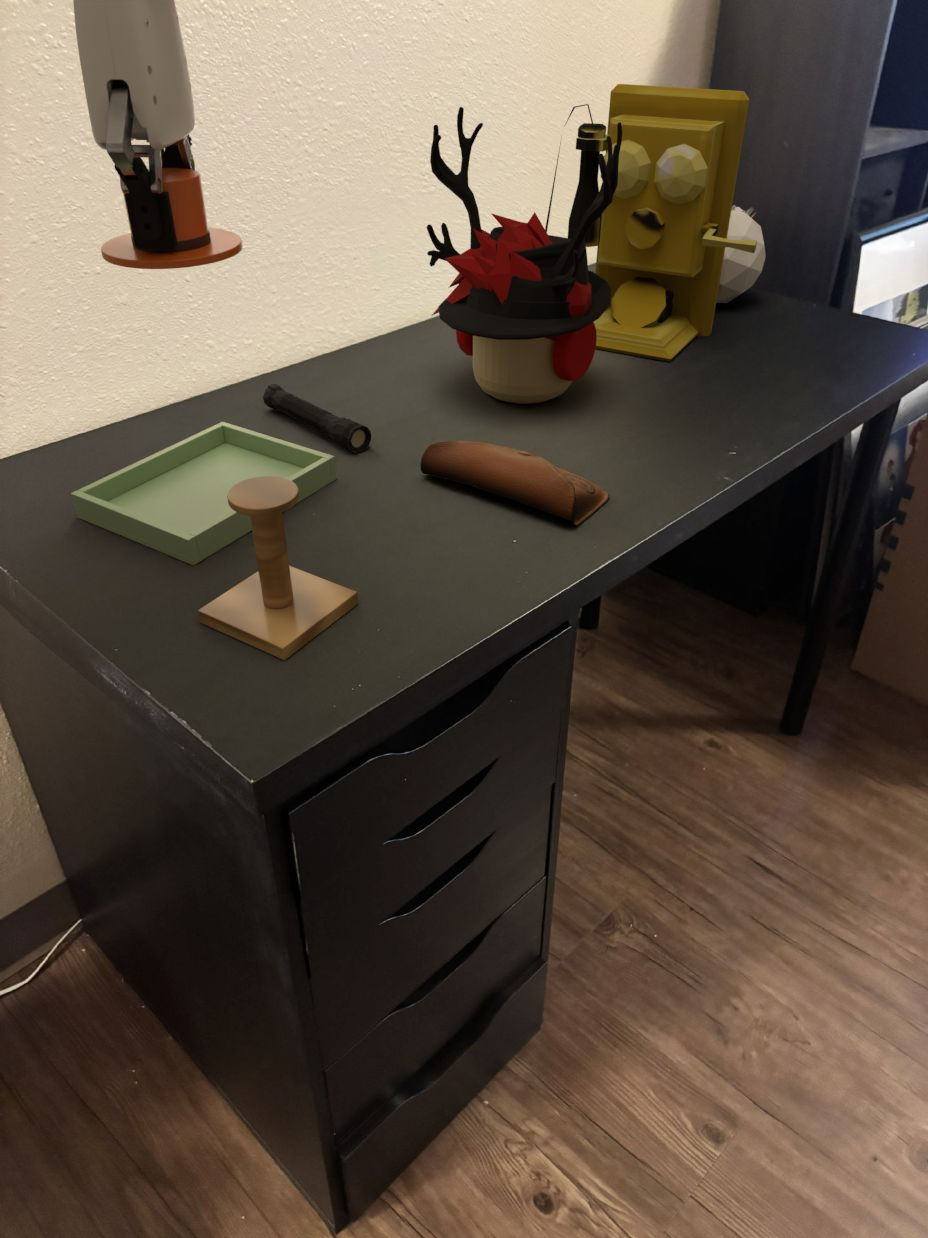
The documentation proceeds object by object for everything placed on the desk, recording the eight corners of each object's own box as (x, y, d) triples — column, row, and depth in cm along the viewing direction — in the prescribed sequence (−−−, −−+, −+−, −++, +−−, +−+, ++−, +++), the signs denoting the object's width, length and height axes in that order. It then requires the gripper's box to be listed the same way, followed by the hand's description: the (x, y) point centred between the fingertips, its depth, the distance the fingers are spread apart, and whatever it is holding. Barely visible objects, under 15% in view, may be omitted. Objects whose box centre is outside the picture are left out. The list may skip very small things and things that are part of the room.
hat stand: (284, 661, 69) (266, 534, 62) (199, 622, 73) (174, 500, 66) (358, 603, 75) (349, 483, 68) (276, 571, 79) (260, 454, 72)
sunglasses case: (615, 491, 89) (604, 449, 84) (582, 548, 88) (569, 510, 82) (466, 445, 98) (447, 405, 92) (433, 497, 96) (411, 459, 90)
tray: (193, 565, 79) (188, 540, 78) (77, 517, 86) (70, 493, 85) (336, 479, 93) (334, 455, 91) (226, 443, 100) (222, 421, 98)
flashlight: (350, 456, 97) (348, 430, 95) (263, 411, 107) (260, 386, 105) (372, 448, 99) (370, 422, 97) (284, 404, 108) (281, 380, 106)
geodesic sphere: (741, 242, 148) (710, 169, 138) (804, 263, 137) (775, 186, 128) (674, 308, 149) (638, 241, 139) (732, 334, 138) (697, 263, 129)
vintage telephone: (504, 332, 129) (510, 90, 112) (545, 306, 139) (557, 79, 122) (720, 372, 117) (766, 106, 100) (749, 340, 127) (795, 93, 109)
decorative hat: (644, 387, 113) (677, 112, 95) (555, 446, 99) (575, 138, 81) (493, 349, 124) (498, 96, 106) (394, 398, 110) (380, 117, 92)
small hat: (168, 277, 67) (153, 195, 64) (72, 255, 72) (54, 178, 69) (271, 245, 75) (262, 170, 72) (177, 228, 80) (165, 157, 76)
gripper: (113, -40, 70) (160, 212, 80) (10, -40, 56) (82, 265, 66) (210, -40, 69) (244, 213, 80) (131, -40, 55) (184, 267, 66)
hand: (170, 234), depth 73 cm, fingers closed on small hat, 6 cm apart
